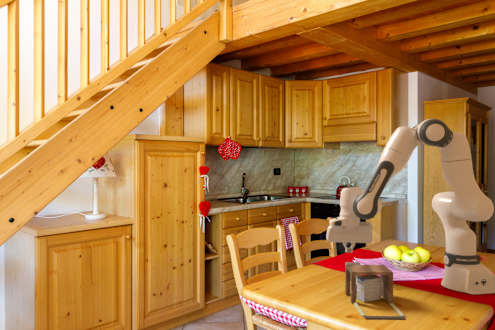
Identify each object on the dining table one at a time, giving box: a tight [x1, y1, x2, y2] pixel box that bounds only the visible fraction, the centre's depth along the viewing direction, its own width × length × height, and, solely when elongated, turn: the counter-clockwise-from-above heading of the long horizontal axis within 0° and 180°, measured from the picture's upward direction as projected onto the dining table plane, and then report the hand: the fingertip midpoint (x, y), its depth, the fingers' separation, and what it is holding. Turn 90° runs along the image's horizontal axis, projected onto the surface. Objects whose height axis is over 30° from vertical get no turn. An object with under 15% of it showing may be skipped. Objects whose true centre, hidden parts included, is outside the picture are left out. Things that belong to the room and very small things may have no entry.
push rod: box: [344, 261, 361, 293], centre depth 159 cm, size 8×18×7 cm, turn 179°
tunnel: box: [344, 264, 394, 305], centre depth 144 cm, size 15×10×12 cm, turn 89°
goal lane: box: [353, 302, 406, 318], centre depth 132 cm, size 14×11×1 cm
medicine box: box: [356, 275, 382, 303], centre depth 143 cm, size 8×4×9 cm, turn 111°
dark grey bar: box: [363, 315, 406, 320], centre depth 126 cm, size 13×2×1 cm, turn 89°
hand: (348, 252), depth 171 cm, fingers closed
